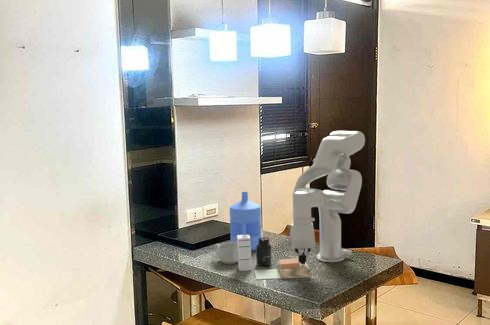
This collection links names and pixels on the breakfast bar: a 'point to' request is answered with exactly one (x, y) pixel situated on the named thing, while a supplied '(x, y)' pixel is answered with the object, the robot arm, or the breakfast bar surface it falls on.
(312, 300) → the breakfast bar surface
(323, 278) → the breakfast bar surface
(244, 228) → the water jug
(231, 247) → the teacup
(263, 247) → the supplement bottle
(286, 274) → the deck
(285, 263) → the tile
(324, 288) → the breakfast bar surface
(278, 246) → the breakfast bar surface
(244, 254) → the syrup box
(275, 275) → the mat
